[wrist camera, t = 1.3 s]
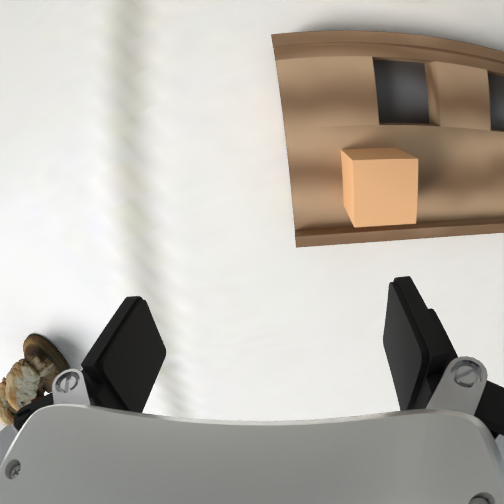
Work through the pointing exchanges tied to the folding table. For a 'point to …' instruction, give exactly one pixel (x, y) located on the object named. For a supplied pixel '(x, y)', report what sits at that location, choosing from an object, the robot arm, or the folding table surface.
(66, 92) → the folding table surface
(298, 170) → the box
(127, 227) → the folding table surface
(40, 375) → the brown lumpy sculpture
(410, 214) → the block
